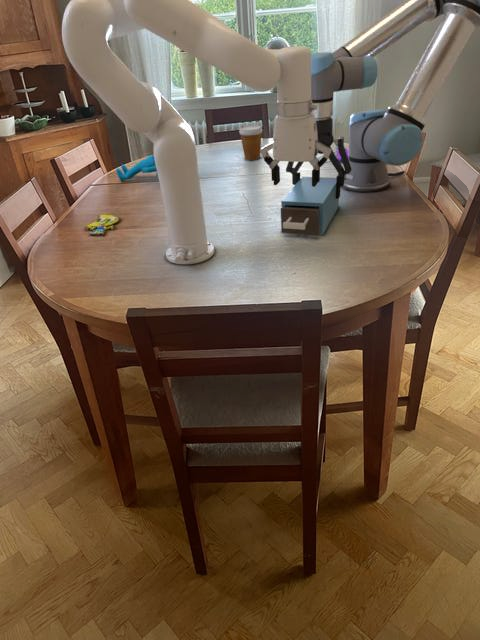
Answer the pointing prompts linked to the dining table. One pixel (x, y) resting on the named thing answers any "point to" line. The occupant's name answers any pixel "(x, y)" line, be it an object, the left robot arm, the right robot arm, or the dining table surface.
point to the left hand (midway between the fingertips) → (295, 184)
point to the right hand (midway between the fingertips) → (317, 196)
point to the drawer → (300, 220)
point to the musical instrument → (338, 155)
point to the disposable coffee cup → (251, 141)
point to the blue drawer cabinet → (315, 198)
